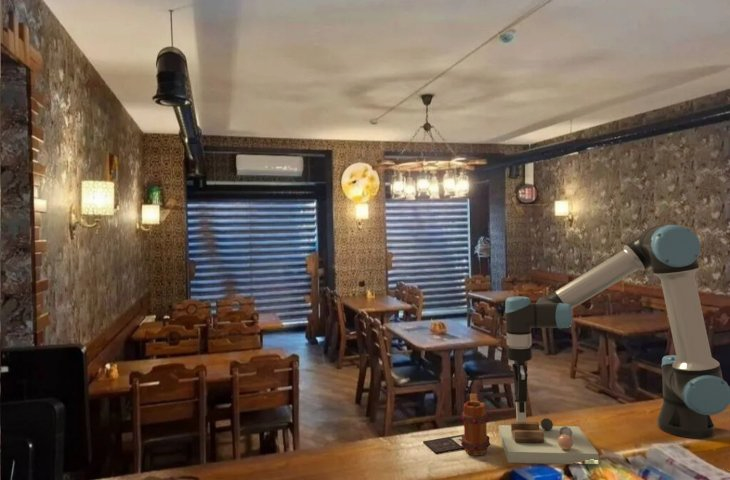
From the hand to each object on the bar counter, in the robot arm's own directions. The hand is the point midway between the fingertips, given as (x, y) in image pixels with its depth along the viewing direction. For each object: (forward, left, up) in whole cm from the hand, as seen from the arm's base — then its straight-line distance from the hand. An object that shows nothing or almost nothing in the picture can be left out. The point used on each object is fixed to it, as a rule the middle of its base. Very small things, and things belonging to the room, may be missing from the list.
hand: (521, 421), depth 160 cm
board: (-5, +10, -5) cm, 12 cm away
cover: (0, +9, -1) cm, 10 cm away
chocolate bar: (+21, +7, -5) cm, 22 cm away
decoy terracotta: (-9, +17, 0) cm, 19 cm away
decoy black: (-7, +3, 0) cm, 8 cm away
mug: (+15, +11, -5) cm, 19 cm away
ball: (-11, +10, 0) cm, 15 cm away
